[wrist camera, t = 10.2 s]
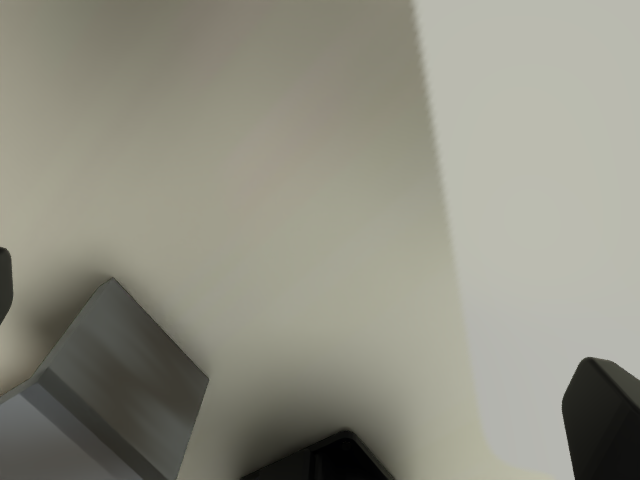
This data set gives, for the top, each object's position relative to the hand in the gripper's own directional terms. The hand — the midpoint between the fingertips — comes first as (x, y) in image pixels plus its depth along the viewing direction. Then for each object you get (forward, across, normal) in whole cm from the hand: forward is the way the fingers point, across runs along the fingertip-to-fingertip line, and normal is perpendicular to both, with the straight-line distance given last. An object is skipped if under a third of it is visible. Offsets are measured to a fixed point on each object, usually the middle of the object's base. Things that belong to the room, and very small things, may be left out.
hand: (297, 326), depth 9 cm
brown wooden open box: (+12, +8, +15) cm, 21 cm away
